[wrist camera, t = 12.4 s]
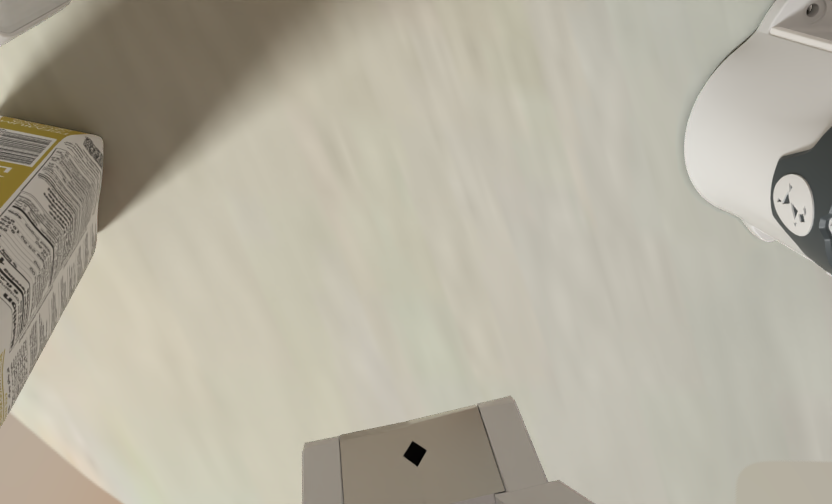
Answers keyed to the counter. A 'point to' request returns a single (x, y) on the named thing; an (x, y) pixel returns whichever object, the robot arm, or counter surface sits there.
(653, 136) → the counter surface
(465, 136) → the counter surface
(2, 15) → the photo printer
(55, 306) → the juice carton
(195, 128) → the counter surface
